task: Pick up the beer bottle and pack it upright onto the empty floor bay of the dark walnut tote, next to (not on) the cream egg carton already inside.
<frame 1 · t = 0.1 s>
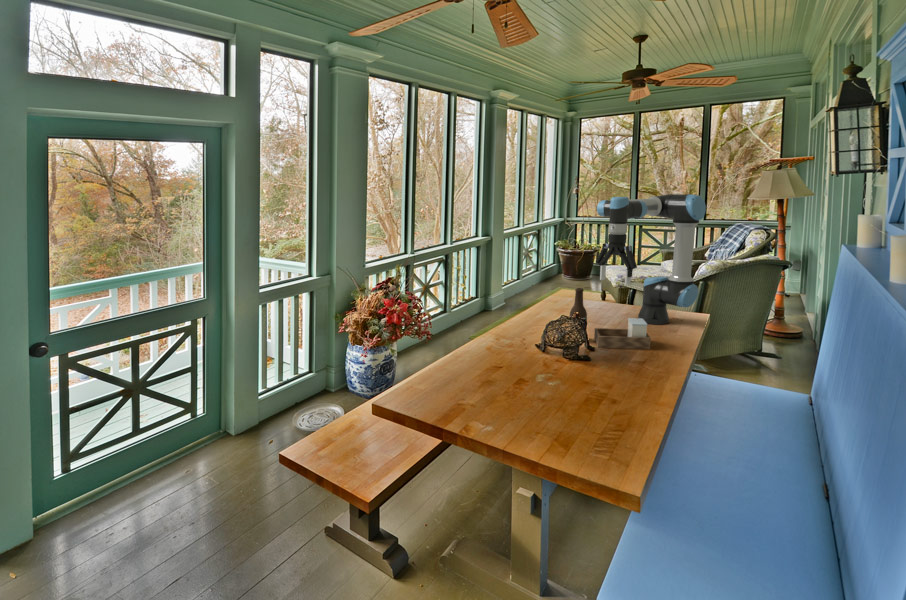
hand: (614, 282, 239), 28 cm above the table, fingers open, 13 cm apart
beer bottle: (577, 340, 252), on the table
tote: (621, 343, 245), on the table
carton: (636, 342, 244), point 1 cm above the table, touching tote
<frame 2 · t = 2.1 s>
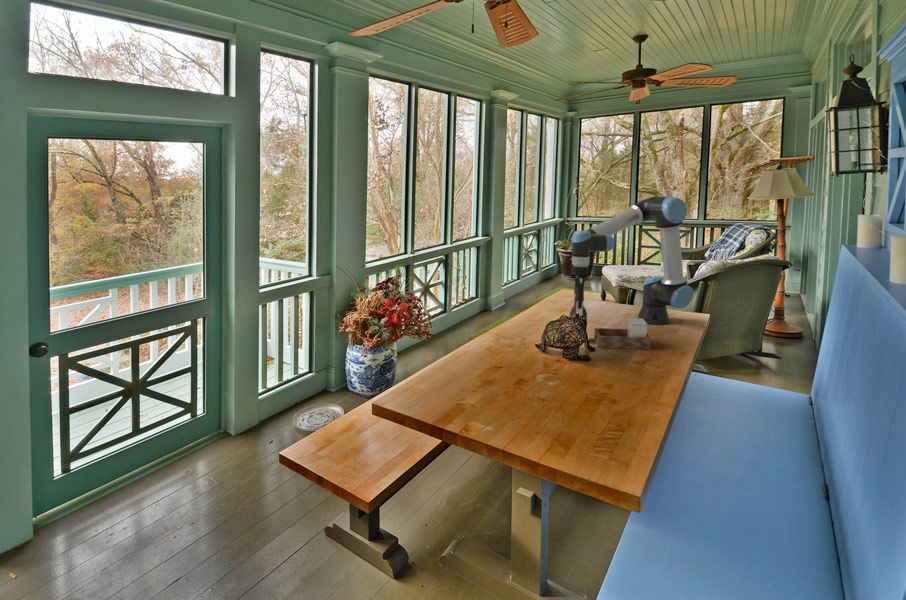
hand: (577, 312, 249), 13 cm above the table, fingers open, 13 cm apart
nothing on the table moved.
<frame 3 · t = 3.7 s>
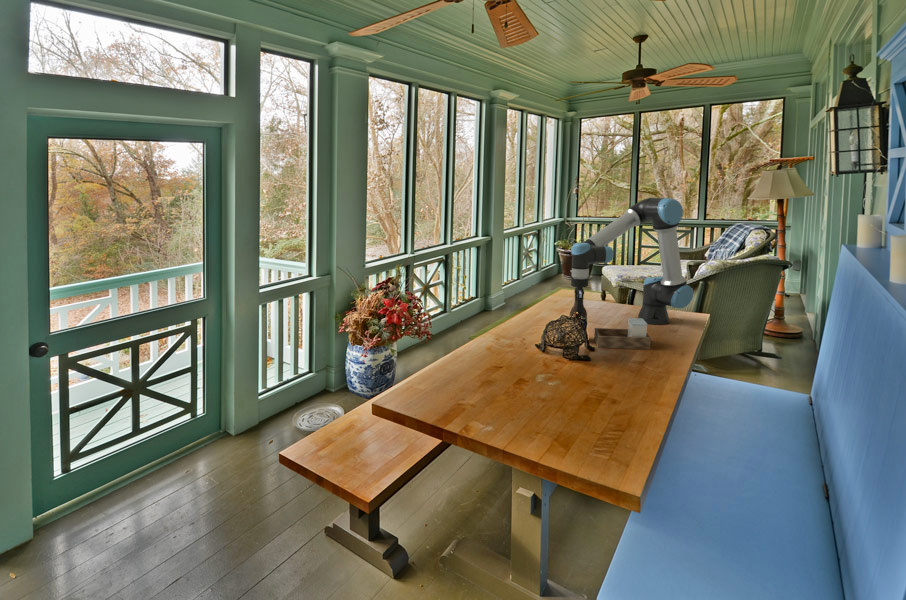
hand: (577, 326, 250), 6 cm above the table, fingers closed on beer bottle, 8 cm apart
beer bottle: (577, 340, 252), on the table, touching gripper
everything else where it was.
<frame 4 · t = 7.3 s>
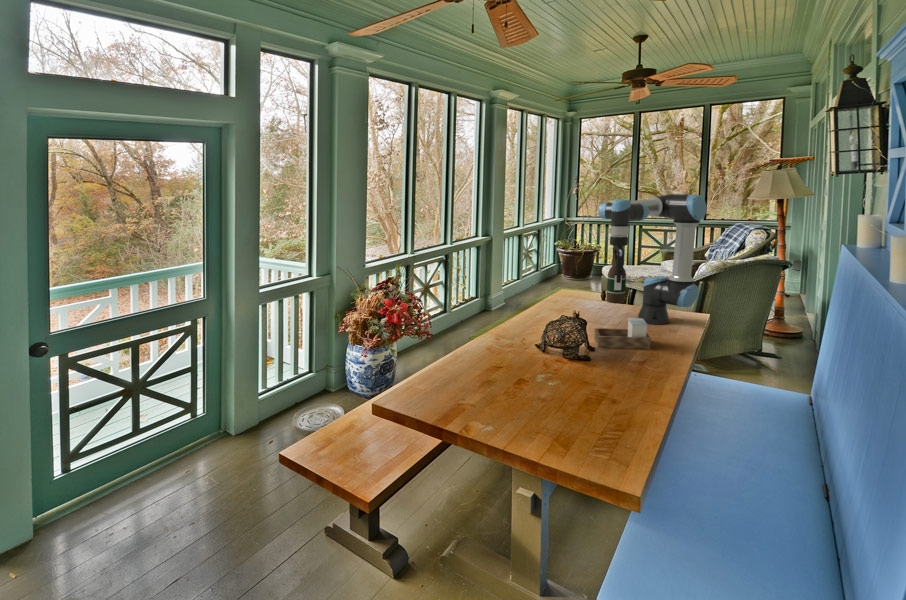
hand: (616, 288, 240), 25 cm above the table, fingers closed on beer bottle, 8 cm apart
beer bottle: (615, 302, 241), point 19 cm above the table, touching gripper
everything else where it was.
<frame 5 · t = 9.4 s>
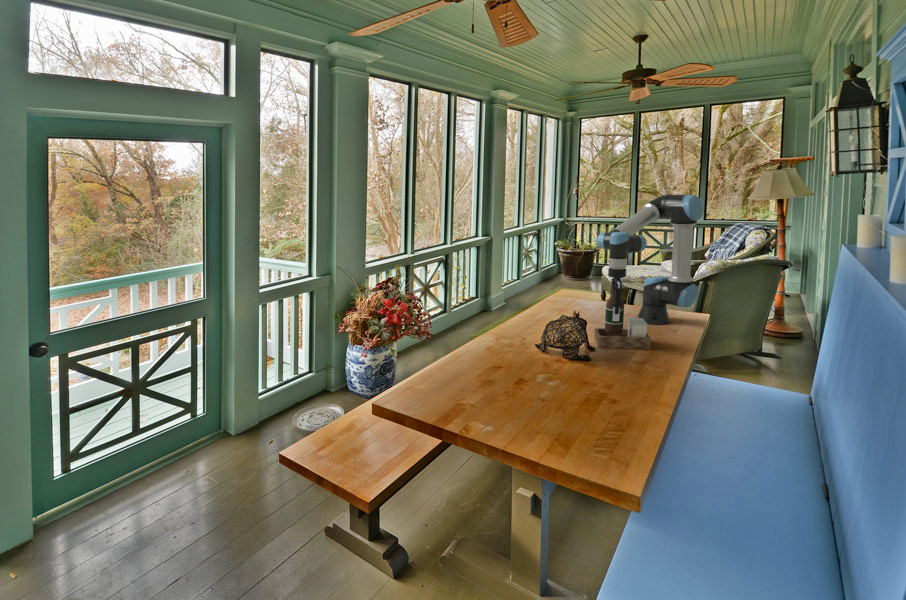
hand: (614, 318, 243), 12 cm above the table, fingers closed on beer bottle, 8 cm apart
beer bottle: (613, 332, 244), point 5 cm above the table, touching gripper
everything else where it was.
when the fingers open (9 cm above the table, at t = 10.9 s): beer bottle drops 2 cm, resting on tote.
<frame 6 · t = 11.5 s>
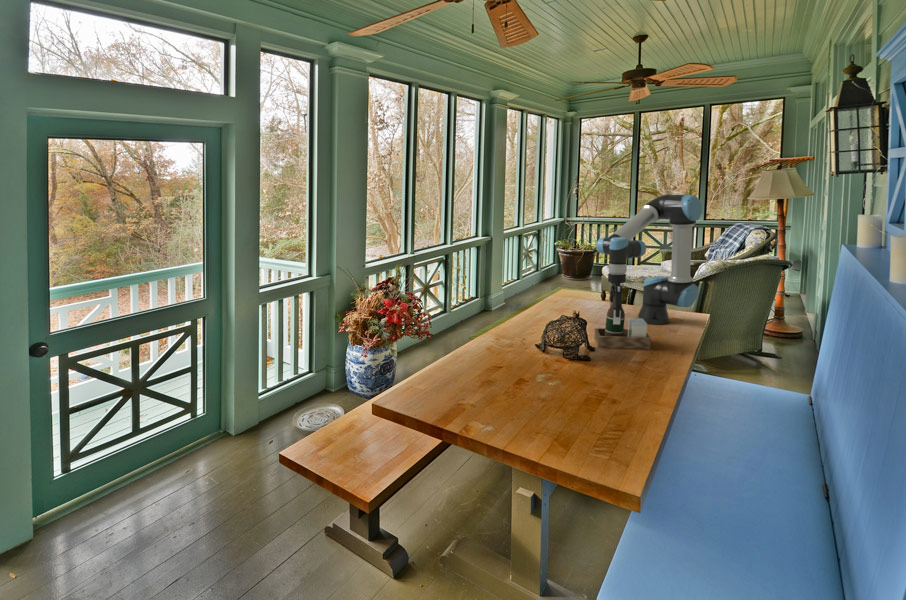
hand: (614, 320, 243), 11 cm above the table, fingers open, 13 cm apart
beer bottle: (613, 341, 245), point 1 cm above the table, touching tote
everything else where it was.
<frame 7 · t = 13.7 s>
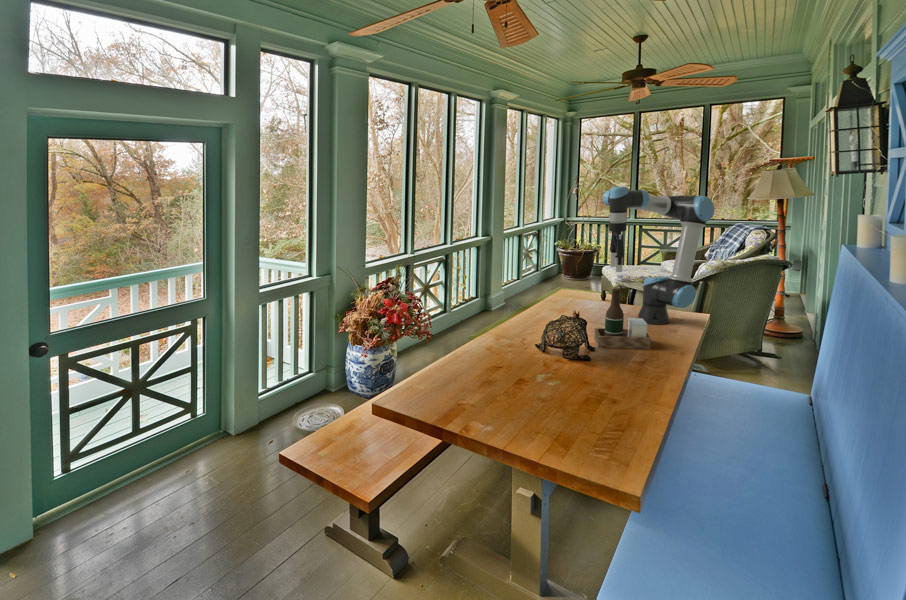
hand: (615, 269, 247), 32 cm above the table, fingers open, 13 cm apart
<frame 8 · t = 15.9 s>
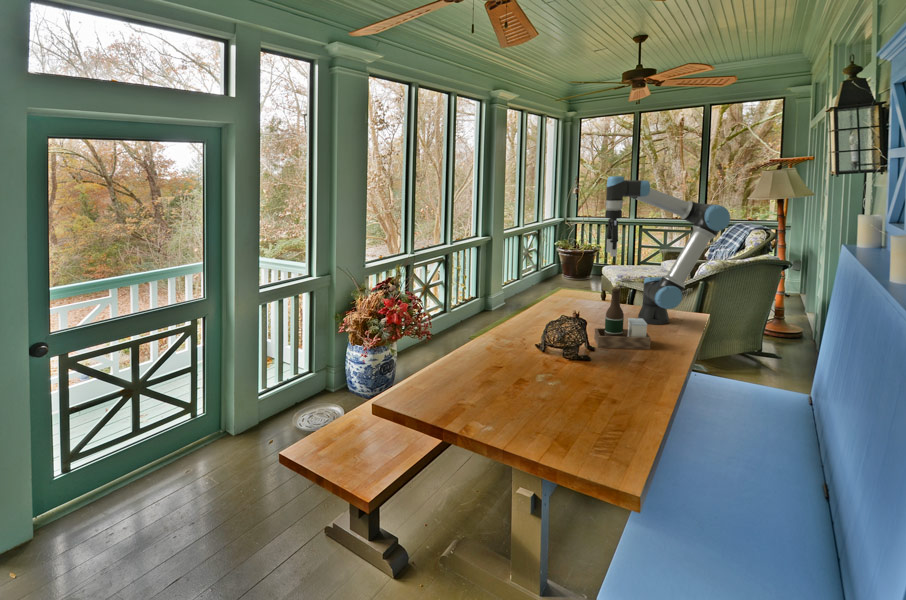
hand: (611, 254, 263), 37 cm above the table, fingers open, 13 cm apart
nothing on the table moved.
at the end: beer bottle inside the target area (0.0 cm from its centre), point 0.8 cm above the table; beer bottle tilted 0°; beer bottle touching tote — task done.
